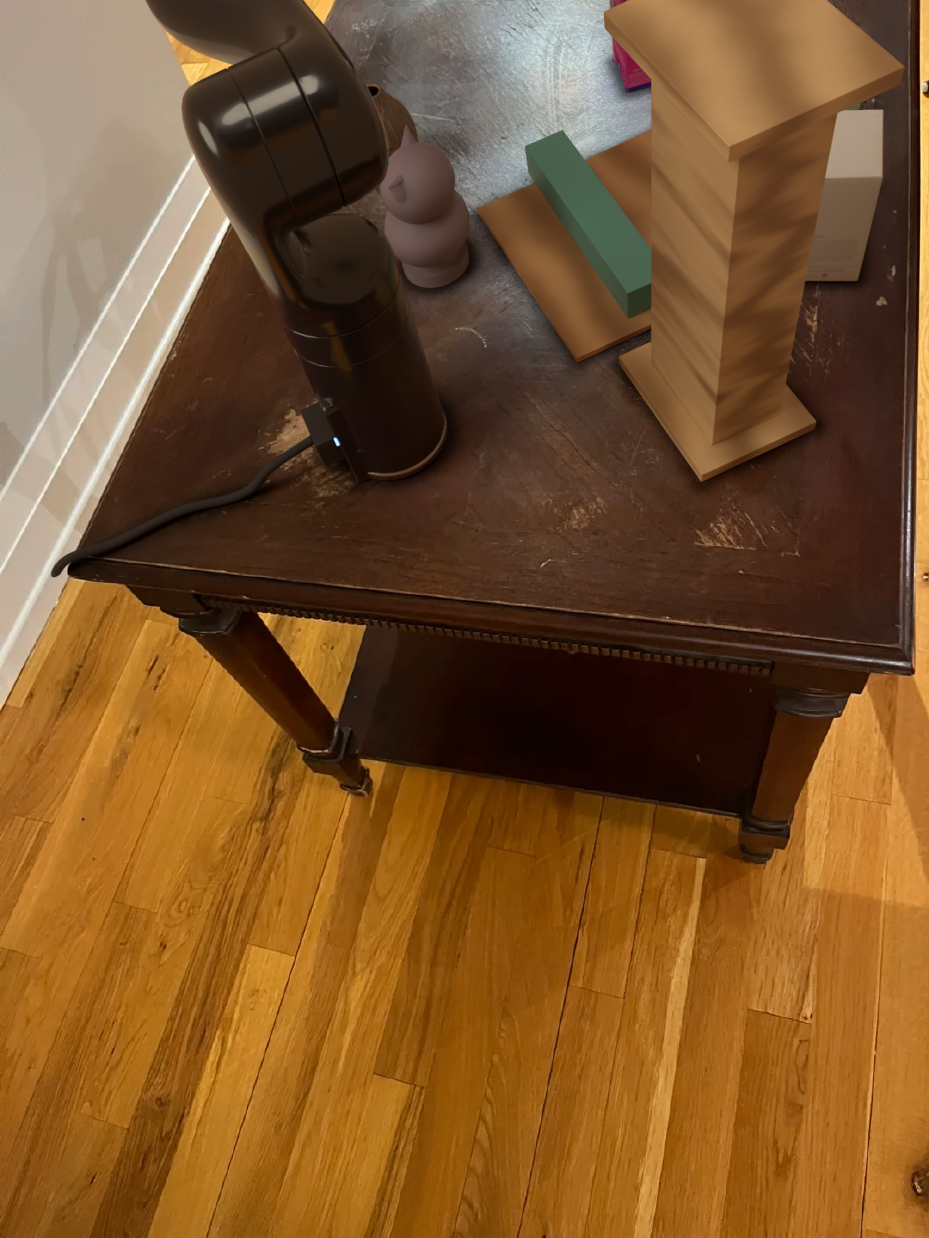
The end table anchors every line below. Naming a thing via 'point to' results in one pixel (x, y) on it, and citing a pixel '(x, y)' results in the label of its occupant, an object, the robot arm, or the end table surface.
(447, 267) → the cat figurine
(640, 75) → the supplement box
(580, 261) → the flat wooden board
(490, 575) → the end table surface
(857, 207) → the small box
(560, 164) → the long green rectangular block
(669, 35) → the wooden pedestal column
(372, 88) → the vase
